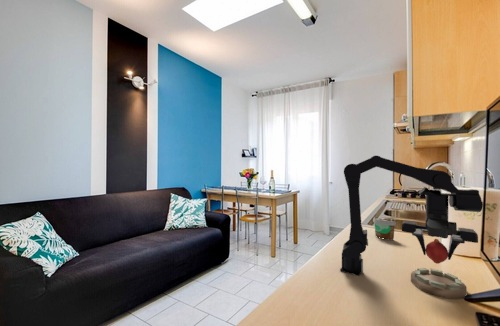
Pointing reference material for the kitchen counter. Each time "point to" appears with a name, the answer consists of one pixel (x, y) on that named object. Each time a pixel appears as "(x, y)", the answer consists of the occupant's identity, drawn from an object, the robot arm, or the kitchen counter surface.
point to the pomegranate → (436, 251)
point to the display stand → (438, 283)
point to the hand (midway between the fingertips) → (436, 257)
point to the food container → (384, 228)
